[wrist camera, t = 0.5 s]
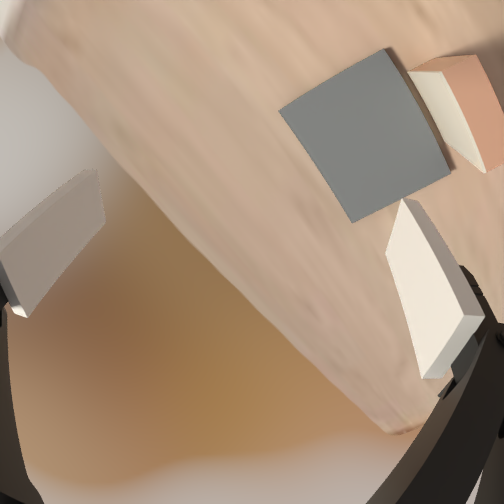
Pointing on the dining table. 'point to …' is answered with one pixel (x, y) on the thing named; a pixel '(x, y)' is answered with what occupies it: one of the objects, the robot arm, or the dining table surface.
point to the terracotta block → (463, 108)
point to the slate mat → (367, 136)
